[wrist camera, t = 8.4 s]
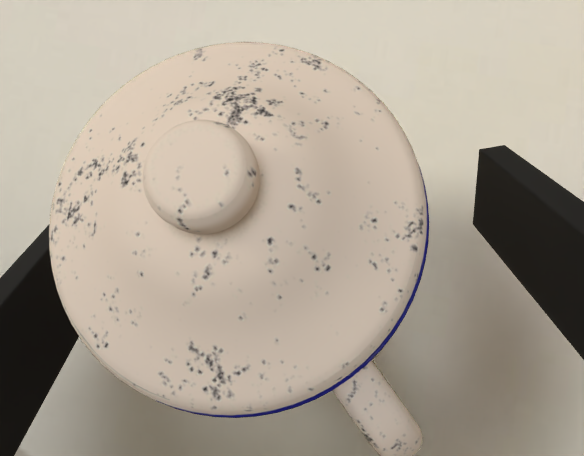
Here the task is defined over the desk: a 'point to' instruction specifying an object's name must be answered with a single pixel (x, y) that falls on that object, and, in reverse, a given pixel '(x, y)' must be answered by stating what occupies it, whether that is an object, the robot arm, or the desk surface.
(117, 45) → the desk surface
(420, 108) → the desk surface
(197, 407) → the teacup with lid
